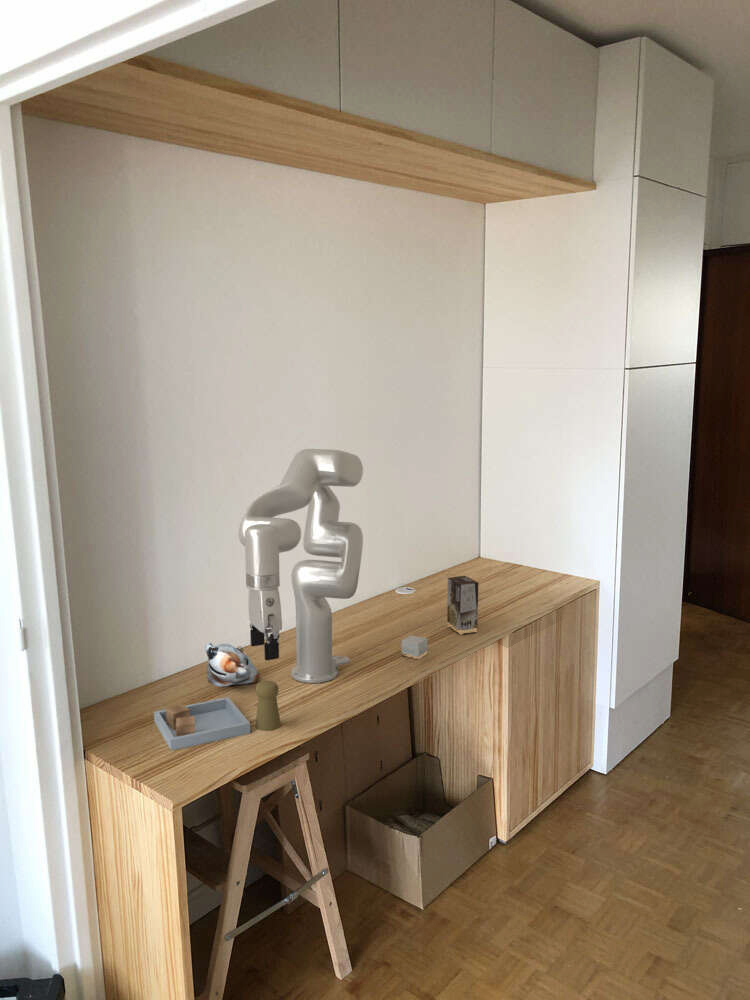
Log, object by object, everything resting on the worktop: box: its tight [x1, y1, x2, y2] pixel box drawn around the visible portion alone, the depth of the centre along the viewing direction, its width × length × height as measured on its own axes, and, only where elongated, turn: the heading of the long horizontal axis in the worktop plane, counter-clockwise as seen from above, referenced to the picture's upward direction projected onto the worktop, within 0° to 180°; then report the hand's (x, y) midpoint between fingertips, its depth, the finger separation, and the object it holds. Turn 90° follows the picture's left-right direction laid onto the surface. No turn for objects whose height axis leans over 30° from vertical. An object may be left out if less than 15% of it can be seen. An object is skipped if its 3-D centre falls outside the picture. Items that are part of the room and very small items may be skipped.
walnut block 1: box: [165, 703, 190, 730], centre depth 192 cm, size 4×4×4 cm
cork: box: [254, 680, 282, 732], centre depth 191 cm, size 6×6×11 cm
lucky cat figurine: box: [204, 642, 260, 688], centre depth 216 cm, size 15×12×14 cm
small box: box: [401, 635, 429, 657], centre depth 237 cm, size 6×6×5 cm
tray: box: [153, 696, 251, 752], centre depth 191 cm, size 18×16×3 cm
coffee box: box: [446, 575, 480, 630], centre depth 257 cm, size 9×6×16 cm
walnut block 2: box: [176, 716, 195, 737], centre depth 186 cm, size 4×4×4 cm
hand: (264, 652), depth 189 cm, fingers open, 9 cm apart
